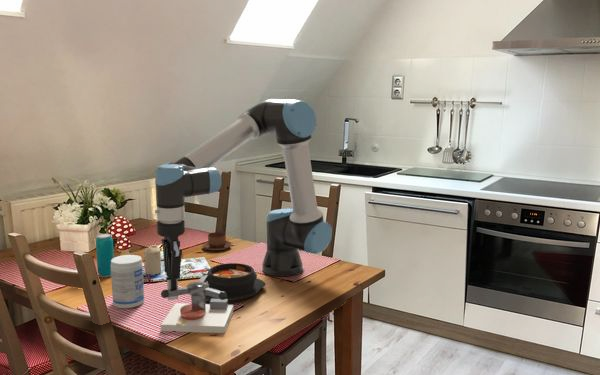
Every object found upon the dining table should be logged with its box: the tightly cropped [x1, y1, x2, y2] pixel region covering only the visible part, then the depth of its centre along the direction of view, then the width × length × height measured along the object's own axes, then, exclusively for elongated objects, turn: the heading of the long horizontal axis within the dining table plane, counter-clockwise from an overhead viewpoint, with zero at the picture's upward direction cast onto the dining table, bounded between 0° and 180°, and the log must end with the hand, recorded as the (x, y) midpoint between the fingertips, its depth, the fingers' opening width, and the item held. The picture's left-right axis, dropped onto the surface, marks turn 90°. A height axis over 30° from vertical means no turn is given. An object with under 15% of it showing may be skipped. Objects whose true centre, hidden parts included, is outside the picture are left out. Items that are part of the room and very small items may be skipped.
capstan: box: [160, 272, 227, 320], centre depth 156 cm, size 17×19×9 cm
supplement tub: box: [110, 254, 145, 309], centre depth 169 cm, size 10×10×15 cm
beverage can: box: [95, 233, 115, 279], centre depth 193 cm, size 6×6×15 cm
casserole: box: [205, 262, 267, 303], centre depth 178 cm, size 25×19×8 cm
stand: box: [160, 299, 235, 334], centre depth 158 cm, size 18×15×4 cm
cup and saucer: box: [202, 231, 232, 252], centre depth 227 cm, size 12×12×6 cm
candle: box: [144, 245, 162, 275], centre depth 197 cm, size 6×6×10 cm
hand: (172, 299), depth 155 cm, fingers closed
